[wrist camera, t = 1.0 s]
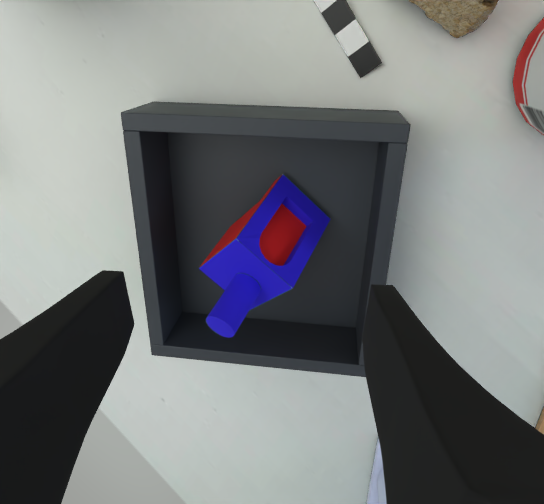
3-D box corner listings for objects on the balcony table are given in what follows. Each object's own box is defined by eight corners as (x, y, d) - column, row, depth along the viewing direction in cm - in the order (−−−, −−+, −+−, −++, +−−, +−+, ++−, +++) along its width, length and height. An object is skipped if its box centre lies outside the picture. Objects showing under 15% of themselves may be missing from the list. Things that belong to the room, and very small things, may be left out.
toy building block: (244, 208, 26) (167, 308, 21) (283, 173, 23) (203, 282, 18) (287, 247, 27) (223, 352, 22) (331, 218, 23) (267, 335, 19)
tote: (366, 335, 27) (371, 378, 24) (173, 317, 29) (151, 355, 25) (398, 110, 21) (410, 124, 18) (152, 101, 23) (120, 112, 19)
